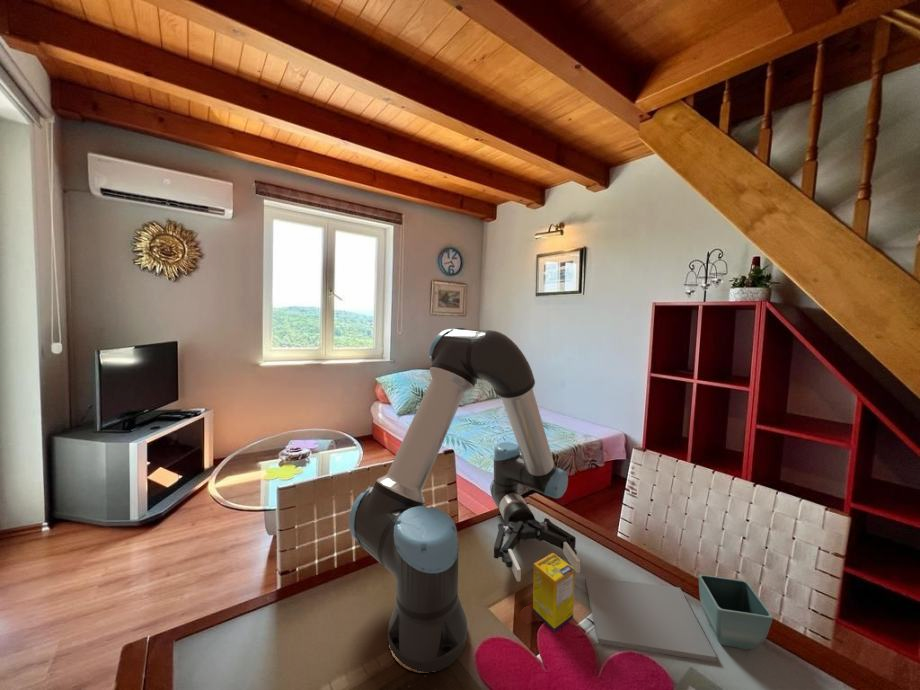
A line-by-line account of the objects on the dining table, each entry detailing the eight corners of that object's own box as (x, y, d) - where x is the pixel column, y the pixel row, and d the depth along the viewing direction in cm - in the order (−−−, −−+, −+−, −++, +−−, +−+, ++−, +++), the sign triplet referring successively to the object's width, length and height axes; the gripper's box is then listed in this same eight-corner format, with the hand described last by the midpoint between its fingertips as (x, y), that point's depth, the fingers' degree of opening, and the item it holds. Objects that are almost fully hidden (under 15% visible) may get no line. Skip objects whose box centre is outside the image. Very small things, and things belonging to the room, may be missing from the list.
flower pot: (770, 663, 65) (775, 617, 64) (714, 653, 66) (718, 609, 65) (742, 620, 73) (746, 580, 72) (694, 613, 75) (697, 573, 74)
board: (598, 643, 68) (598, 638, 68) (585, 579, 84) (585, 575, 84) (716, 662, 65) (716, 657, 65) (679, 591, 80) (679, 587, 80)
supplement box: (551, 598, 79) (552, 551, 78) (573, 617, 74) (575, 568, 73) (531, 611, 76) (532, 563, 74) (554, 633, 71) (555, 581, 69)
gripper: (559, 522, 101) (601, 579, 81) (471, 532, 97) (492, 595, 76) (560, 496, 101) (603, 548, 80) (471, 506, 96) (493, 562, 75)
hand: (549, 571), depth 78 cm, fingers open, 13 cm apart
